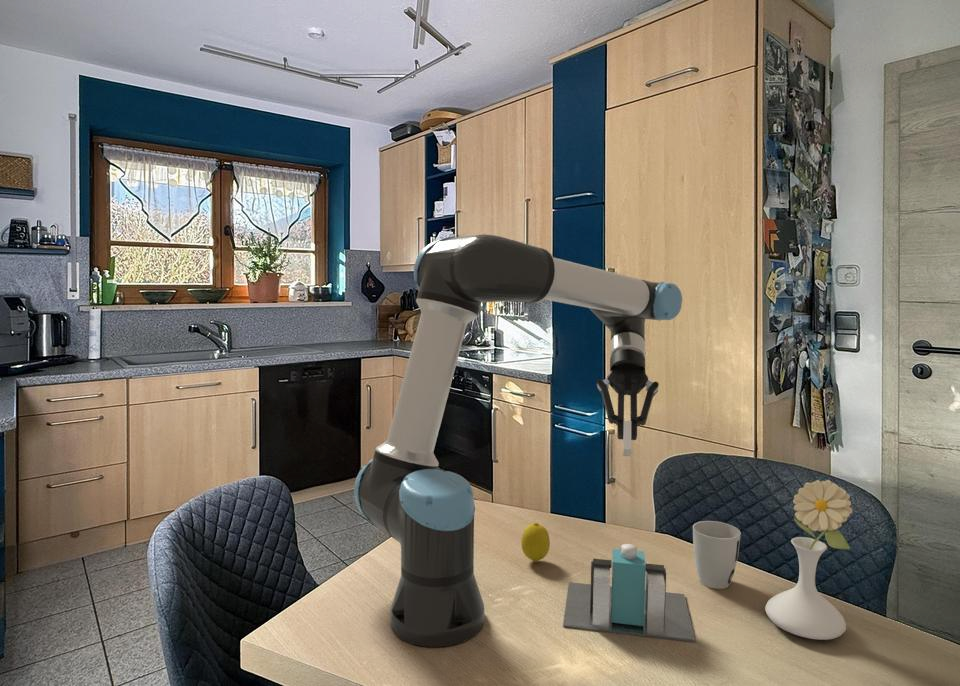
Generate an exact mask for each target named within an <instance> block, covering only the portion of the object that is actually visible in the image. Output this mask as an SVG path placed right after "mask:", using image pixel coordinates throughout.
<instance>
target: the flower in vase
mask: <svg viewBox="0 0 960 686" xmlns="http://www.w3.org/2000/svg"><path fill="white" fill-rule="evenodd" d="M850 497H851V495H850V494H849V493H847V491H846V490H845V489H843V487H841V486H839V485H838V484H836V483H835V482H832V481H831V480H829V479H826V480H821V481H820V480H819V479H816V480H815V481H813V482H805V483H804V486H803V487H800V488H799V489H798V492H797V494H795V495H794V497H793V500H792V503H793V504H794V506H793V509H794V511H796V512H795V514H794V516H793V519H794V522H795V523H796V525H797V526H799V528H800V529H801V530H803V531H804V532H806V533H807V534H809V535H810V536H812V537H813V538H812V537H806V536H805V537H804V536H798V537H797V536H796V537H793V538H791V540H790V542H791V544H792V545H793V547H794V549H795V551H796V553H797V558H798V565H799V566H798V567H799V570H798V571H799V573H798V581H797V583H796V585H795V586H794V587H793V588H790V589H788V590H784V591H782V592H779V593H777V594H775V595H774V596H772V597H771V598H770V599H769V600H768V601H767V603H766V604H765V607H764V610H765V612H766V615H767V616H768V618H769V619H770V621H771V622H772V623H774V624H775V626H777V627H779V628H780V629H782V630H784V631H786V632H788V633H790V634H792V635H795V636H799V637H803V638H806V639H810V640H821V641H822V640H825V641H828V640H833V639H836V638H839V637H840V636H841V635H843V634H844V633H845V632H846V630H847V624H846V621H845V618H844V616H843V615H842V614H841V613H840V611H839V610H838V609H837V608H836V607H835V606H834V605H833V604H832V603H831V602H829V600H827V599H826V598H824V596H823V595H821V594H820V592H818V590H817V587H816V571H817V565H818V562H819V559H820V558H821V555H823V553H824V552H825V551H826V550H827V549H828V546H829V547H830V548H834V549H840V550H851V547H850V546H849V543H848V541H847V540H846V538H845V537H844V535H843V534H842V533H841V532H840V531H839V530H838V529H840V528H841V527H842V524H843V523H845V522H848V518H849V517H850V514H851V515H852V513H853V508H851V507H850V506H851V505H852V502H851V500H850ZM817 531H818V532H821V533H820V534H819V535H818V536H817V537H816V535H815V534H814V533H813V532H817ZM823 536H824V538H825V540H826V542H827V544H826V543H825V542H822V541H820V539H821V538H822V537H823ZM827 545H828V546H827Z"/></svg>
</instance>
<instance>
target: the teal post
mask: <svg viewBox="0 0 960 686" xmlns="http://www.w3.org/2000/svg"><path fill="white" fill-rule="evenodd" d="M620 548H621V549H620ZM620 548H612V568H611V586H612V596H611V622H612V623H620V624H629V625H638V626H644V606H645V584H646V564H647V563H646V555H645V551H644V550H642V551H641V550H637V549H638V547H637V546H636V545H634V544H631V543H624V544H622V545H621V547H620Z"/></svg>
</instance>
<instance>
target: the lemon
mask: <svg viewBox="0 0 960 686" xmlns="http://www.w3.org/2000/svg"><path fill="white" fill-rule="evenodd" d="M550 541H551V540H550V534H549V532H548V530H547V528H546V526H544V525H542V524H540V523H538V522H533V523H531V524H529V525H527V526H525V528H524V530H523V533H522V536H521V544H520V545H521V549H522V550H521V551H522V552H523V554H524V555H525V557H526V558H528V559H529V560H531V561H533V563H538V562H539V561H540V560H543V559H544V558H545V557H546V556H547V555H548V553H549V550H550V546H551V545H550V543H551V542H550Z"/></svg>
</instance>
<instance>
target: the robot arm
mask: <svg viewBox="0 0 960 686" xmlns="http://www.w3.org/2000/svg"><path fill="white" fill-rule="evenodd" d="M413 279H414V282H415V283H416V288H417V291H418V292H417V296H416V300H415V302H416V304H417V306H418V308H419V310H420V317H419V320H418V324H417V328H416V332H415V335H414V339H413V343H412V345H411V346H412V347H411V349H410V355H409V357H408V361H407V364H406V368H405V372H404V376H403V378H402V379H403V380H402V383H401V387H400V391H399V394H398V398H397V402H396V405H395V409H394V414H393V416H392V419H391V420H392V421H391V424H390V427H389V431H388V435H387V438H386V440H385V441H383V442H382V443H381V444H380V445H378V446H376V447H375V450H374V452H373V453H374V454H373V457H372V459H371V460H369V461H368V463H367V464H366V465H363V466H362V468H361V469H360V470H359V472H358V474H357V476H356V478H355V482H354V487H353V497H354V503H355V505H356V507H357V508H358V510H359V512H360V514H362V515H363V516H364V517H365V518H366V520H367V521H368V522H369V524H371V525H372V526H374V527H376V528H378V529H380V530H381V531H382V532H384V533H385V534H387V535H388V536H390V537H391V538H392V539H393V540H394V541H395V540H396V542H398V543H399V544H400V571H401V572H400V578H399V581H398V584H397V587H396V591H395V594H394V598H393V601H392V603H391V606H390V627H391V629H392V632H393V633H394V634H395V635H396V636H397V637H398V638H399V639H402V640H403V641H404V642H407V643H409V644H411V645H415V646H420V647H427V648H440V647H441V648H442V647H451V646H455V645H457V644H461V643H463V642H466V641H468V640H470V639H472V638H473V637H475V636H476V635H477V634H478V633H479V632H480V631H481V630H482V629H483V626H484V624H485V604H484V600H483V597H482V594H481V591H480V588H479V585H478V582H477V580H476V576H475V573H474V572H475V571H474V567H475V566H474V565H475V563H474V558H475V555H474V552H475V551H474V550H475V549H474V548H475V546H474V545H475V541H474V540H475V539H474V538H475V535H474V534H475V512H476V505H475V498H474V490H473V487H472V486H471V484H470V483H469V481H468V480H467V479H466V478H464V477H463V476H461V475H460V474H458V473H455V472H453V471H449V470H446V471H443V470H442V469H439V466H440V465H439V464H440V463H439V460H438V459H437V458H436V455H435V453H434V452H435V451H434V450H435V447H436V443H437V438H438V436H439V431H440V428H441V424H442V420H443V417H444V413H445V409H446V404H447V400H448V398H449V393H450V390H451V386H452V381H453V378H454V374H455V371H456V367H457V363H458V360H459V359H458V358H459V355H460V352H461V348H462V344H463V340H464V336H465V332H466V329H467V326H468V325H469V324H470V323H471V322H473V321H475V320H476V319H478V316H479V312H480V309H481V304H482V303H495V302H497V303H498V302H499V303H500V302H501V303H502V302H523V303H529V304H537V303H541V302H542V301H550V302H556V303H561V304H565V305H571V306H577V307H582V308H588V309H589V310H590V311H591V312H592V313H593V314H594V315H595V317H597V319H599V320H600V321H601V322H602V323H603V325H604V326H605V327H606V328H607V329H609V331H610V350H609V351H610V353H609V355H610V356H609V357H610V359H609V373H608V374H607V376H606V378H605V379H598V380H597V382H596V388H597V391H599V393H600V395H601V397H602V401H603V404H604V409H605V412H606V413H605V414H606V416H607V420H608V423H609V424H614V425H616V426H617V434H616V435H617V437H616V438H617V440H622V456H623V457H631V456H632V441H637V439H638V426H645V425H646V423H647V420H648V416H649V413H650V409H651V405H652V403H653V398H654V397H655V395H657V394H658V392H659V382H658V381H651V380H649V377H648V375H647V374H646V339H645V333H646V332H645V331H646V330H645V329H646V327H645V326H646V325H645V323H646V320H654V321H655V320H656V321H671V320H673V319H675V318H676V317H677V316H678V315H679V314H680V312H681V310H682V304H683V296H682V295H683V294H682V291H681V289H680V288H679V286H678V285H676V284H675V283H672V282H665V281H660V282H653V281H649V280H645V279H639V278H637V277H633V276H630V275H625V274H621V273H617V272H613V271H609V270H606V269H601V268H597V267H592V266H589V265H584V264H581V263H576V262H573V261H570V260H565V259H562V258H557V257H554V256H553V254H552V252H550V251H549V250H547V249H545V248H543V247H542V248H541V247H538V246H534V245H532V244H528V243H524V242H520V241H518V240H515V239H511V238H507V237H504V236H500V235H495V234H494V235H493V234H487V233H485V234H476V235H466V236H447V237H443V238H440V239H438V240H434V241H432V242H430V243H429V244H427V245H426V246H424V247H423V249H422V250H420V252H419V254H418V255H417V258H416V260H415V262H414V267H413ZM609 386H610V387H611V388H612V390H613V391H615V393H616V394H617V414H616V413H615V410H614V407H613V402H612V399H611V395H610V392H609V389H610V387H609ZM644 388H645V389H646V390H645V391H646V395H645V399H644V401H643V405H642V409H641V412H640V414H639V415H640V416H639V415H638V394H640V392H641V391H642V390H643V389H644ZM625 396H630V399H629V400H630V405H629V406H630V414H629V415H630V420H625Z"/></svg>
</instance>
